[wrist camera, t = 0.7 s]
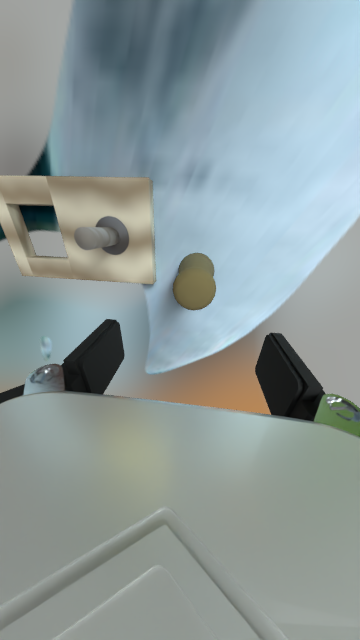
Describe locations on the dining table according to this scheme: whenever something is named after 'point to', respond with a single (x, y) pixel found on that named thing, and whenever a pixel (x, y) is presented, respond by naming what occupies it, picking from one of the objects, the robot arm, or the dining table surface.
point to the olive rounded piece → (195, 282)
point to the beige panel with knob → (85, 226)
